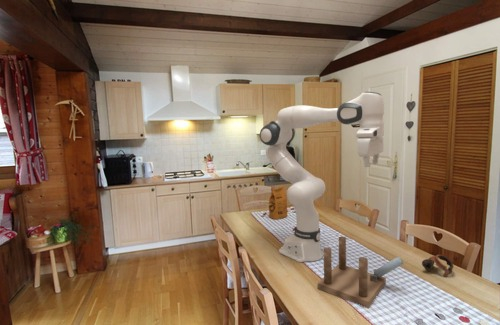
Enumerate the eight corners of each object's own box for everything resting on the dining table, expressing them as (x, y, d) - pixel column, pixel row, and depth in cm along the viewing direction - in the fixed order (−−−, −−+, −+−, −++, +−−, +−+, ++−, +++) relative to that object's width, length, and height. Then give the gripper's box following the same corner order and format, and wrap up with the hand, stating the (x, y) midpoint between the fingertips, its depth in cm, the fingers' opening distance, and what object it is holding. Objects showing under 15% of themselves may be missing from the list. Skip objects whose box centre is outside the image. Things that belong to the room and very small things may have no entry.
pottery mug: (435, 265, 128) (446, 253, 123) (448, 283, 120) (461, 272, 115) (412, 261, 125) (423, 249, 121) (424, 280, 117) (436, 268, 113)
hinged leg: (372, 272, 112) (396, 258, 106) (375, 269, 115) (398, 255, 108) (378, 279, 111) (402, 265, 105) (380, 276, 114) (404, 262, 107)
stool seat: (317, 288, 113) (316, 250, 110) (338, 268, 127) (338, 234, 125) (368, 308, 99) (368, 264, 97) (385, 283, 114) (386, 245, 112)
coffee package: (267, 217, 204) (266, 187, 202) (280, 213, 211) (279, 185, 208) (275, 220, 196) (274, 190, 193) (289, 217, 203) (288, 187, 200)
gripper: (372, 131, 124) (372, 161, 126) (354, 133, 109) (354, 168, 110) (387, 130, 120) (387, 162, 121) (371, 132, 105) (370, 169, 106)
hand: (371, 165), depth 116 cm, fingers open, 8 cm apart
